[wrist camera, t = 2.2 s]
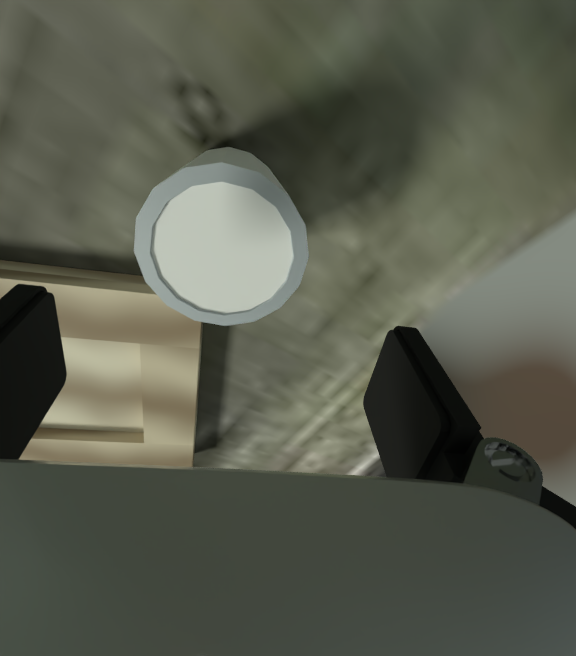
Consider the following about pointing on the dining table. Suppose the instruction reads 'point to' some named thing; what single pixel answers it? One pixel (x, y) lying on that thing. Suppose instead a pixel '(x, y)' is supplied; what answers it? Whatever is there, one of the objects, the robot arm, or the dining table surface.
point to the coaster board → (116, 370)
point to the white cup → (221, 239)
